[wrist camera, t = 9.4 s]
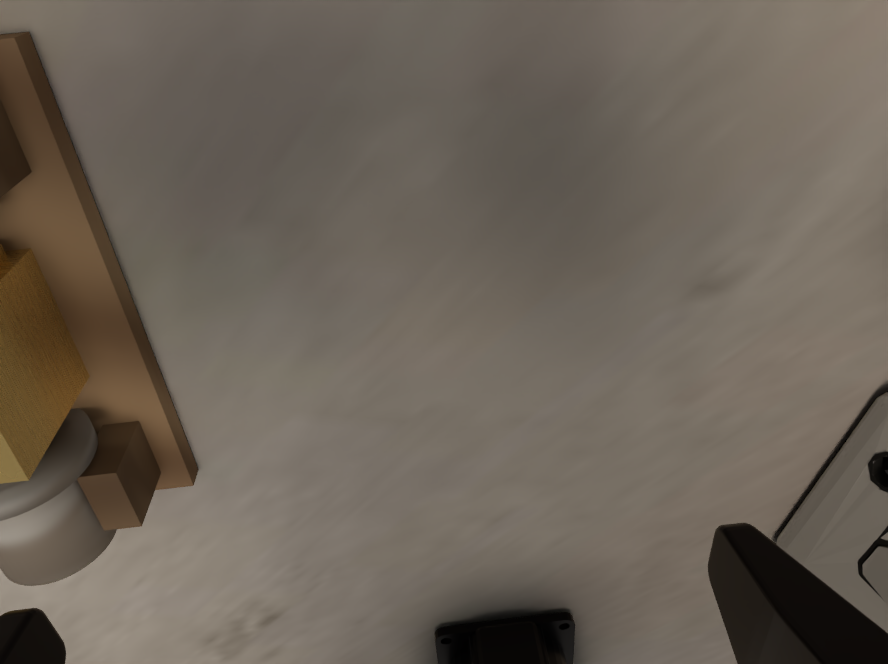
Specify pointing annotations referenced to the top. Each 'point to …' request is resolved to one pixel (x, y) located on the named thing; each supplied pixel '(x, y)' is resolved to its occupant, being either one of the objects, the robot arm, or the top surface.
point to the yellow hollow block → (32, 366)
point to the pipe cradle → (97, 340)
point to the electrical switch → (849, 519)
